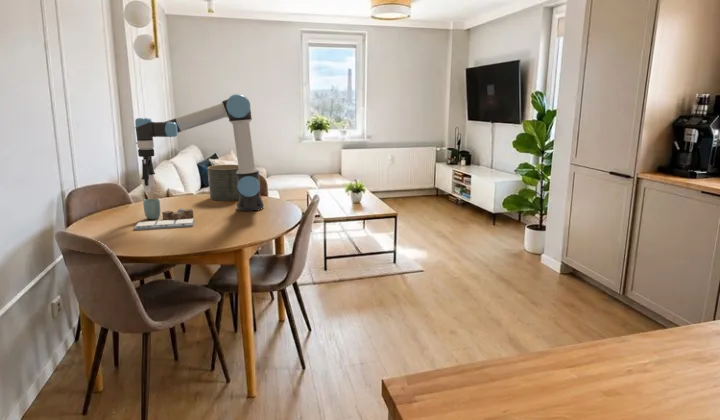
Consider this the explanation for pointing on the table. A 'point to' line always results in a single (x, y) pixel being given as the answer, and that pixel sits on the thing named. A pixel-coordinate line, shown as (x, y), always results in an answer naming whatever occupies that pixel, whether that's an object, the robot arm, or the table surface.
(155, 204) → the cup
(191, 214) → the walnut block
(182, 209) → the grey ball
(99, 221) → the table surface
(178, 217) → the walnut block
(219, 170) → the planter
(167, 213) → the walnut block
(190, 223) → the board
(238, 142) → the robot arm
